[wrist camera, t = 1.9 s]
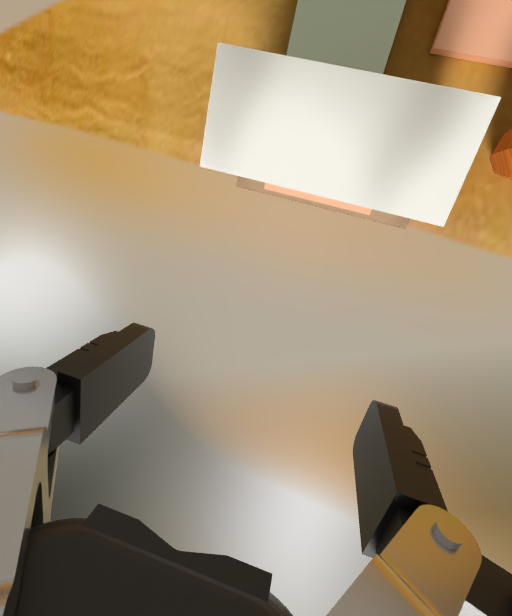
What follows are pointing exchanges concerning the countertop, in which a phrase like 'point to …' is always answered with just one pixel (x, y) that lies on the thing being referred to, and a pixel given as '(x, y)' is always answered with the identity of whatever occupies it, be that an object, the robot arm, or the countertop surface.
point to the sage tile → (345, 32)
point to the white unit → (342, 135)
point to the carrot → (503, 156)
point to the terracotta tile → (476, 32)
